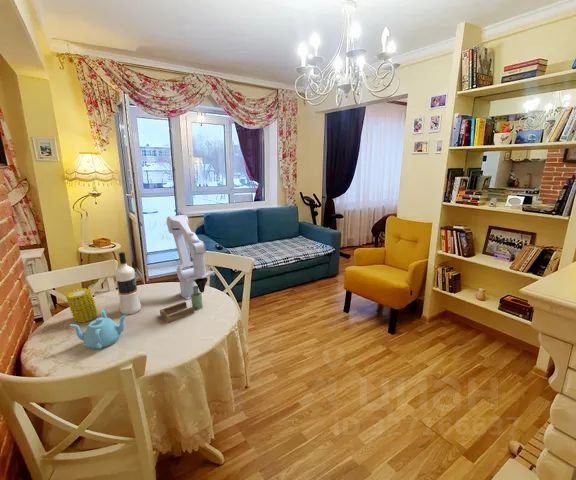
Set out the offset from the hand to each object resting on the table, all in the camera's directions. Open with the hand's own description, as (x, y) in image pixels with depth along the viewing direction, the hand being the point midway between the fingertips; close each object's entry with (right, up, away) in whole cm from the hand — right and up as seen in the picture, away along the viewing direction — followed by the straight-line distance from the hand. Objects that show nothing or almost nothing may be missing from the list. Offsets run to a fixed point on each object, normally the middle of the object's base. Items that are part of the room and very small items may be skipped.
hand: (201, 291), depth 150 cm
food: (-52, -11, -9) cm, 54 cm away
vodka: (-34, -9, -3) cm, 35 cm away
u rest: (-9, -10, -7) cm, 15 cm away
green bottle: (-2, -8, 0) cm, 8 cm away
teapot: (-33, -15, -27) cm, 45 cm away
